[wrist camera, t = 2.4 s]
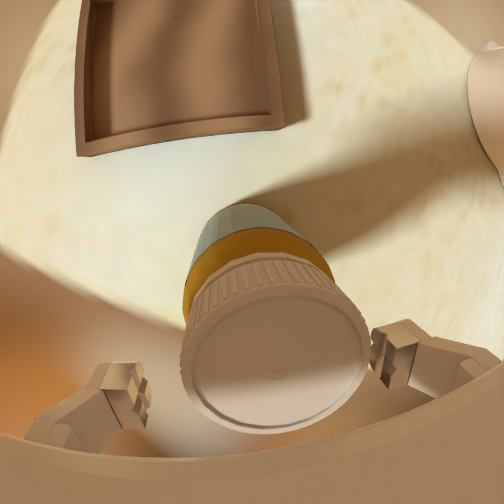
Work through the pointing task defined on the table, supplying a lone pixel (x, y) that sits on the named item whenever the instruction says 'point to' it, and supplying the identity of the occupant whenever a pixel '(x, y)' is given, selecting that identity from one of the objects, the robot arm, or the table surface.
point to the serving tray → (173, 72)
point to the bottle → (267, 327)
